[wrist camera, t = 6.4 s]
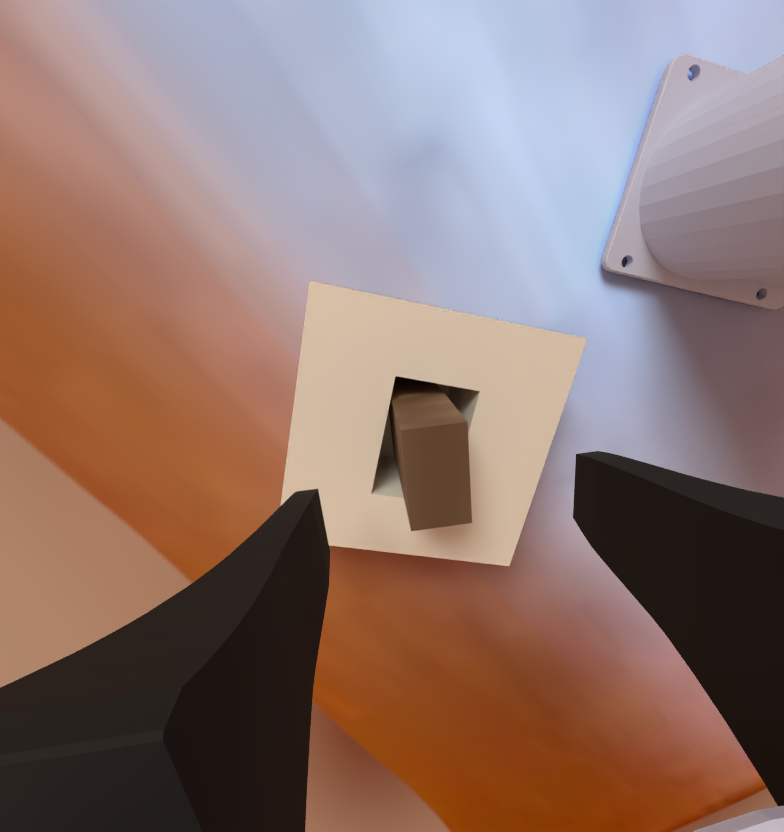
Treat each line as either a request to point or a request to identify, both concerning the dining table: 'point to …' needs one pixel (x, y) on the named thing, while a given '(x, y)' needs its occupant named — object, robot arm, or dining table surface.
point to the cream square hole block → (464, 386)
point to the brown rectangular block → (430, 455)
